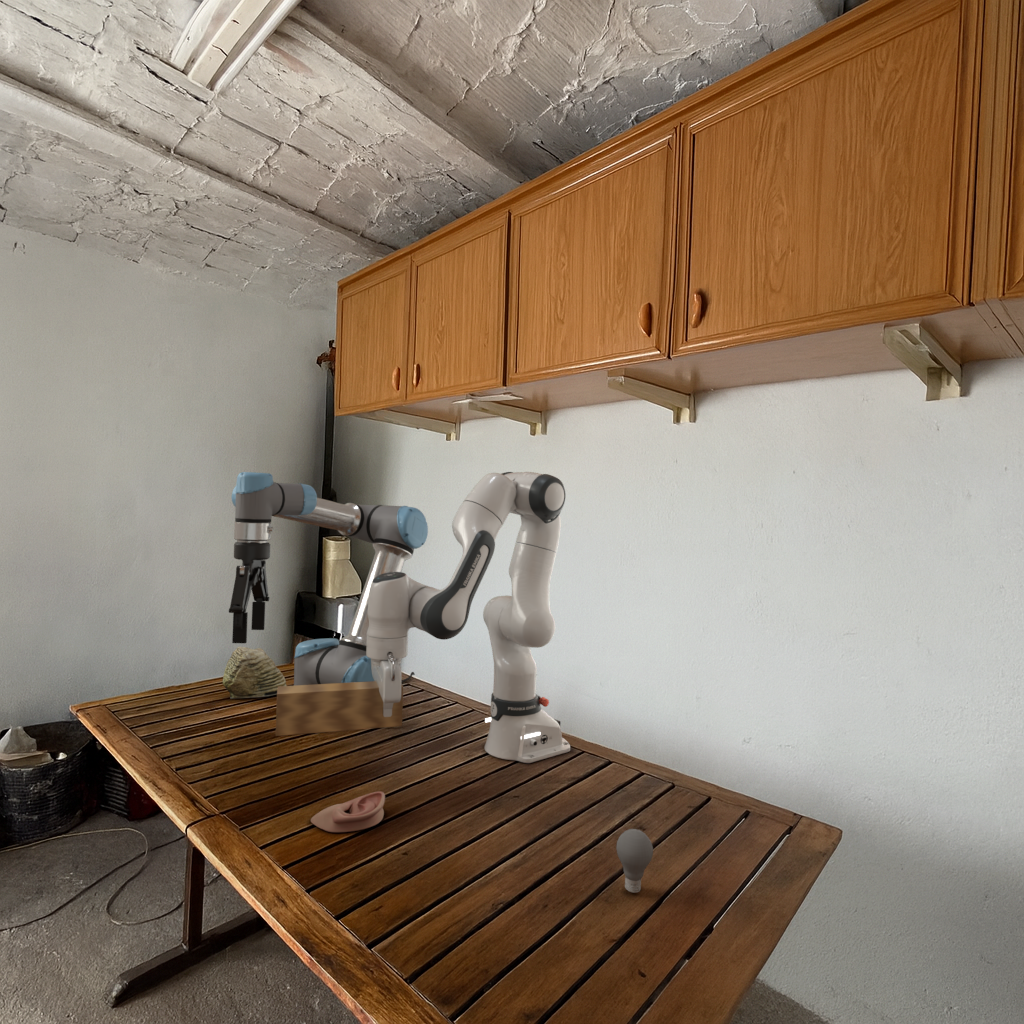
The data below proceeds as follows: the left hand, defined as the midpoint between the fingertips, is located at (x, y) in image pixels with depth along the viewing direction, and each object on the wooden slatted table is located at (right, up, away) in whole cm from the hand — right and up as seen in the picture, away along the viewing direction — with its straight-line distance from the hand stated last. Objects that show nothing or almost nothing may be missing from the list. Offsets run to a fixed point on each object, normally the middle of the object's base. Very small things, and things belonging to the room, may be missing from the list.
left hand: (249, 636), depth 142 cm
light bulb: (+79, -36, -36) cm, 94 cm away
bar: (+22, -18, -7) cm, 29 cm away
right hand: (+31, -15, -4) cm, 35 cm away
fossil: (-22, -29, +56) cm, 67 cm away
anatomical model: (+27, -33, -17) cm, 46 cm away
